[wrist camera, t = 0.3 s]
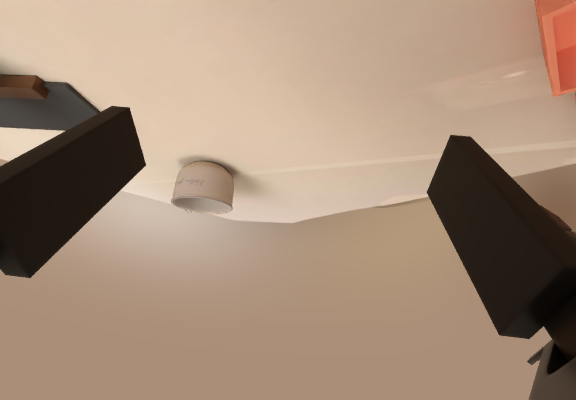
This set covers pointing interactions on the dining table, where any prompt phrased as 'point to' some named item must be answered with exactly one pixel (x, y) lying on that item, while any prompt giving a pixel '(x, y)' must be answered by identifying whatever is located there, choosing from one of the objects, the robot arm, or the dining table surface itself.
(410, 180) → the dining table surface
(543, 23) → the pottery
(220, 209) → the teacup
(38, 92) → the stop bar
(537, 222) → the robot arm
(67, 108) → the mat
